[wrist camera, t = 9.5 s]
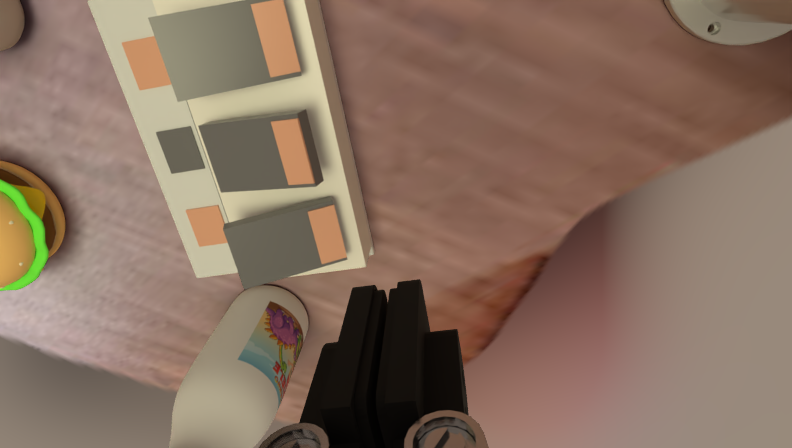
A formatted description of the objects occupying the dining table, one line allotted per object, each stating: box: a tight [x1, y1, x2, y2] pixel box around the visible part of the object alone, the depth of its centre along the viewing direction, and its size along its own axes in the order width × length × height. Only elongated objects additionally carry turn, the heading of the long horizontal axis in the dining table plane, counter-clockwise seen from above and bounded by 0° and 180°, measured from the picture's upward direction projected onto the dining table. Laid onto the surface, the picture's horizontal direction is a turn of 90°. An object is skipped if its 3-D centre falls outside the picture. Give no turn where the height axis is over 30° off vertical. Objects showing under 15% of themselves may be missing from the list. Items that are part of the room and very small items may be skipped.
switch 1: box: [148, 0, 302, 102], centre depth 31 cm, size 8×5×1 cm, turn 100°
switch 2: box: [223, 196, 348, 290], centre depth 36 cm, size 8×5×1 cm, turn 100°
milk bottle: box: [169, 285, 309, 448], centre depth 39 cm, size 8×8×20 cm
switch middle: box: [198, 109, 324, 193], centre depth 34 cm, size 8×5×1 cm, turn 100°
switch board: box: [87, 0, 375, 278], centre depth 38 cm, size 17×24×5 cm
